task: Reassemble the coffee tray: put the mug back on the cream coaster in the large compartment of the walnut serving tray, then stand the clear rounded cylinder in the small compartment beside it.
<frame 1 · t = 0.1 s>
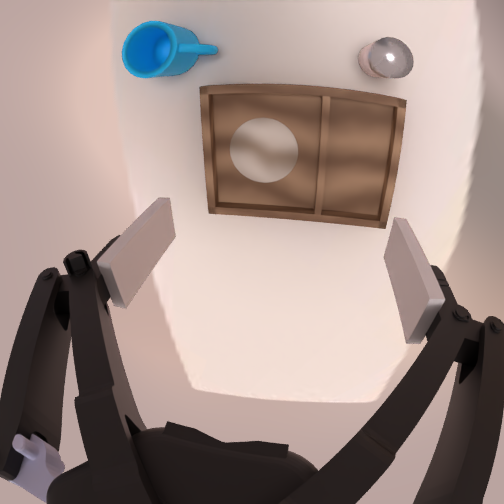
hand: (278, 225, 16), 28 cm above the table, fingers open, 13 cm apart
tray: (301, 151, 40), on the table
mug: (186, 51, 34), on the table
clear rounded cylinder: (375, 61, 30), on the table
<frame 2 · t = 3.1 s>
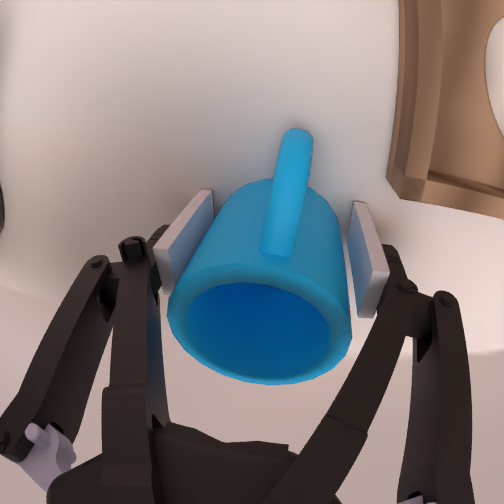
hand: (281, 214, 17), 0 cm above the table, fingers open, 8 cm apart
mug: (283, 210, 18), on the table, touching gripper
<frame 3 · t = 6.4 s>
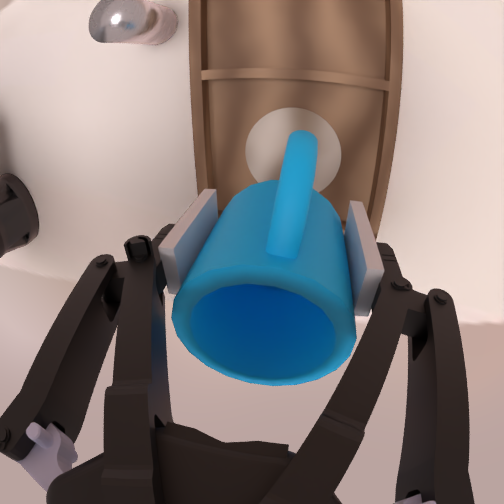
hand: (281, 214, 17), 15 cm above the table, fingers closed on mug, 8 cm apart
tray: (295, 102, 26), on the table
mug: (286, 211, 18), point 14 cm above the table, touching gripper
clear rounded cylinder: (157, 25, 23), on the table
when the fingers open (2 cm above the table, at t = 9.1 s): mug stays where it is, resting on tray.
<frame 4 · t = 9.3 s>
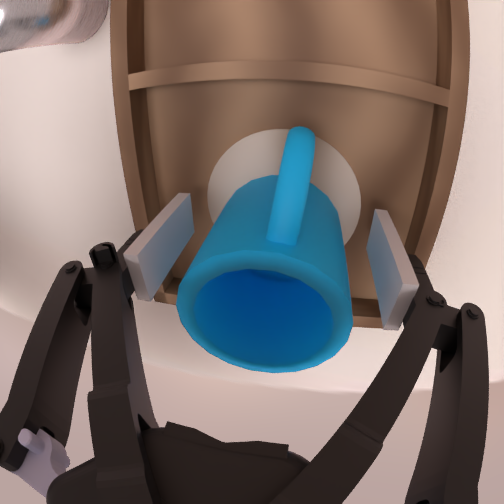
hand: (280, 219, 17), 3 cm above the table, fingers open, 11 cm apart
tray: (287, 118, 16), on the table
mug: (286, 205, 18), point 1 cm above the table, touching tray
clear rounded cylinder: (83, 14, 13), on the table
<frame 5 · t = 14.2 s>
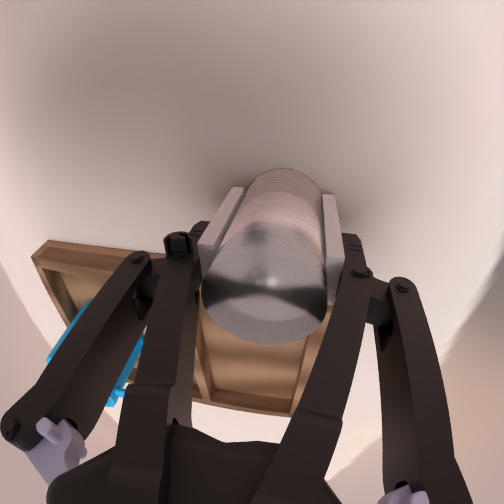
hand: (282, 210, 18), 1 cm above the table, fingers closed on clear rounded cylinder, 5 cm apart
tray: (176, 332, 28), on the table
mug: (128, 330, 29), point 1 cm above the table, touching tray
clear rounded cylinder: (283, 205, 18), on the table, touching gripper
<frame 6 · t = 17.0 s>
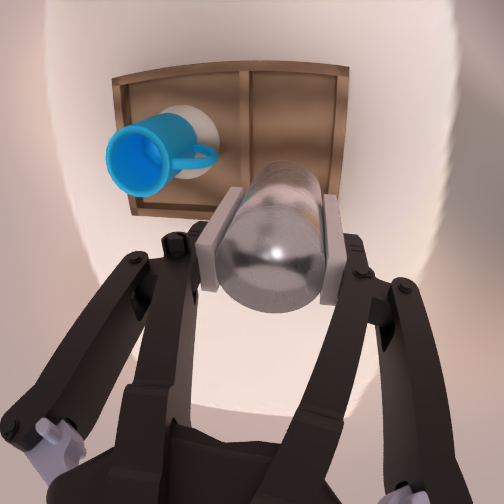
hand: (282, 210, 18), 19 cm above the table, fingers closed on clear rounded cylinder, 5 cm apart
tray: (226, 140, 34), on the table
mug: (182, 143, 34), point 1 cm above the table, touching tray
clear rounded cylinder: (285, 194, 20), point 16 cm above the table, touching gripper
when the fingers open (4 cm above the table, at t = 19.9 s): clear rounded cylinder stays where it is, resting on tray.
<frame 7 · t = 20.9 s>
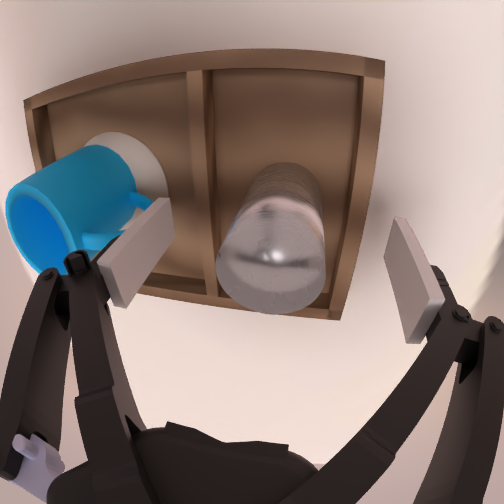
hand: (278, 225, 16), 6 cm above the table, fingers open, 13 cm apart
tray: (179, 183, 22), on the table
mug: (118, 189, 22), point 1 cm above the table, touching tray
clear rounded cylinder: (285, 195, 20), point 1 cm above the table, touching tray
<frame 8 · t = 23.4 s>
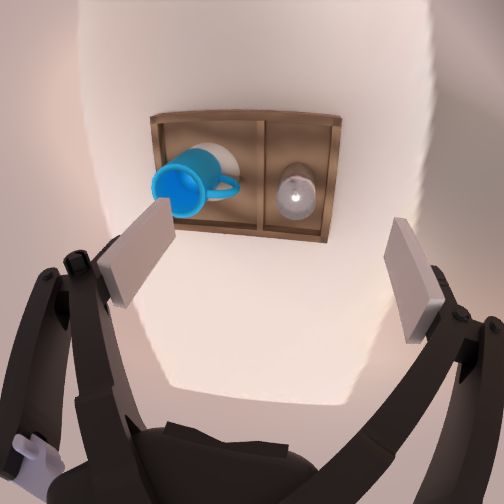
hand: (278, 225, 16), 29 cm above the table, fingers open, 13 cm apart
tray: (244, 171, 45), on the table
mug: (209, 173, 45), point 1 cm above the table, touching tray
clear rounded cylinder: (298, 177, 43), point 1 cm above the table, touching tray
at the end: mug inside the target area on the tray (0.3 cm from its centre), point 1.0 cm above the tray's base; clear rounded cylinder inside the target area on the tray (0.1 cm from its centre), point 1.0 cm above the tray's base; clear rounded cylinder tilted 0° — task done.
